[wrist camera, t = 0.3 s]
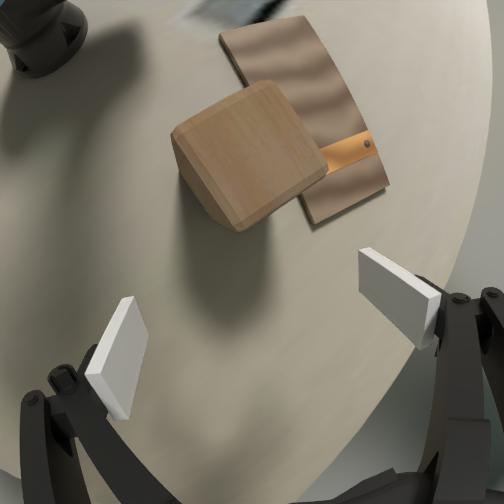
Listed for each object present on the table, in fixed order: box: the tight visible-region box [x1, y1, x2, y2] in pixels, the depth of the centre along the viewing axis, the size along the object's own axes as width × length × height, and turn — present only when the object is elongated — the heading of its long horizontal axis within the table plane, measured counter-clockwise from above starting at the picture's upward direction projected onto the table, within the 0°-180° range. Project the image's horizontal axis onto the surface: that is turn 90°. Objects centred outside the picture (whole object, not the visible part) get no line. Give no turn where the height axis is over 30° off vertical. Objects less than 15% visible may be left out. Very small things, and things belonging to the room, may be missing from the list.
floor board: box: [219, 16, 390, 224], centre depth 40 cm, size 34×16×2 cm, turn 26°
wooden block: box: [170, 79, 329, 233], centre depth 31 cm, size 10×10×20 cm
